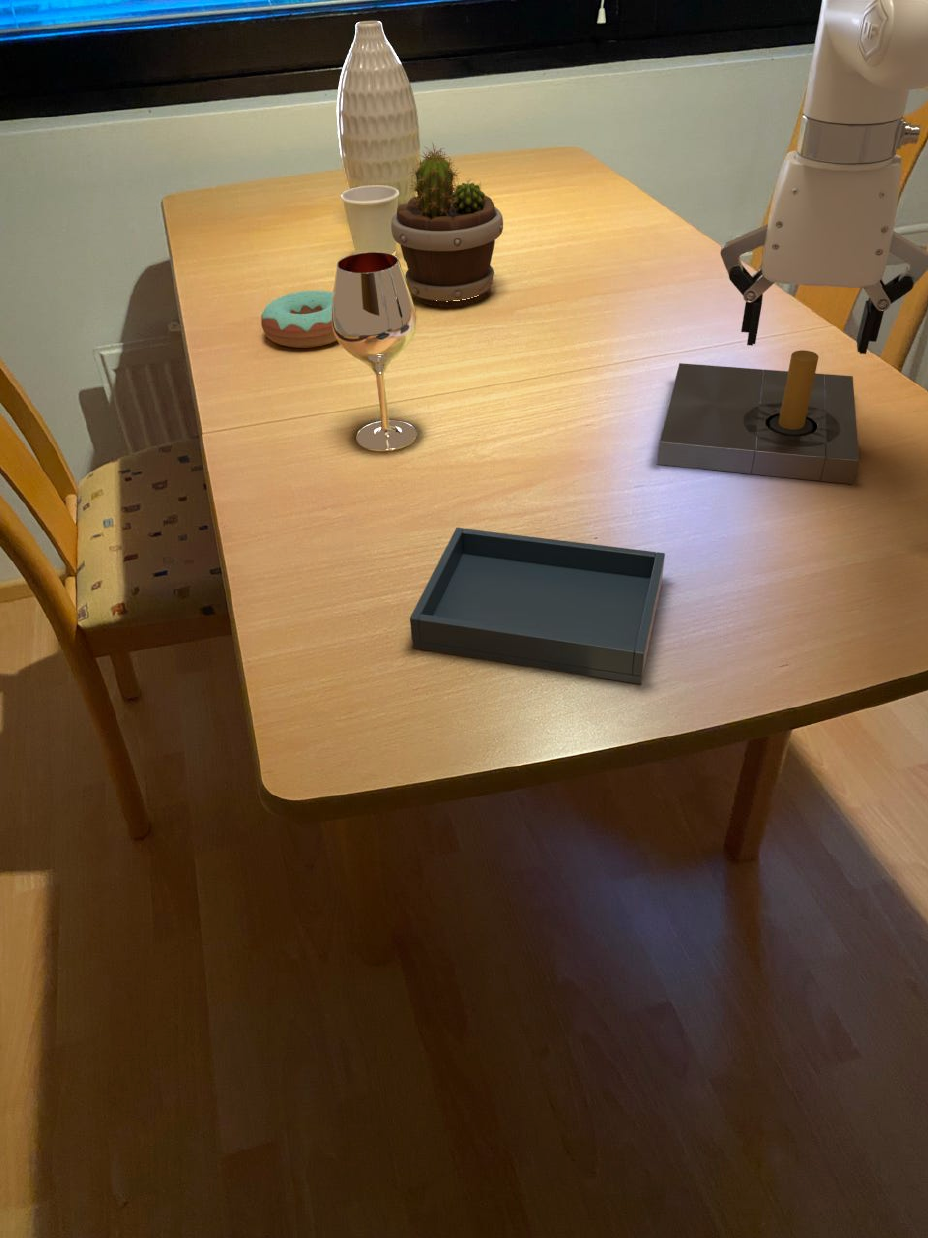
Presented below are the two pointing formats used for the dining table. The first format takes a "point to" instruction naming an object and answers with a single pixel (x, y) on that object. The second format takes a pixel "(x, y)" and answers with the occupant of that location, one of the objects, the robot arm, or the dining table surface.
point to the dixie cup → (371, 217)
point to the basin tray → (541, 604)
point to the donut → (300, 319)
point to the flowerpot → (446, 236)
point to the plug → (796, 396)
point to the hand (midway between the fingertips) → (805, 343)
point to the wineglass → (375, 331)
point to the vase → (377, 115)
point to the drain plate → (758, 425)
